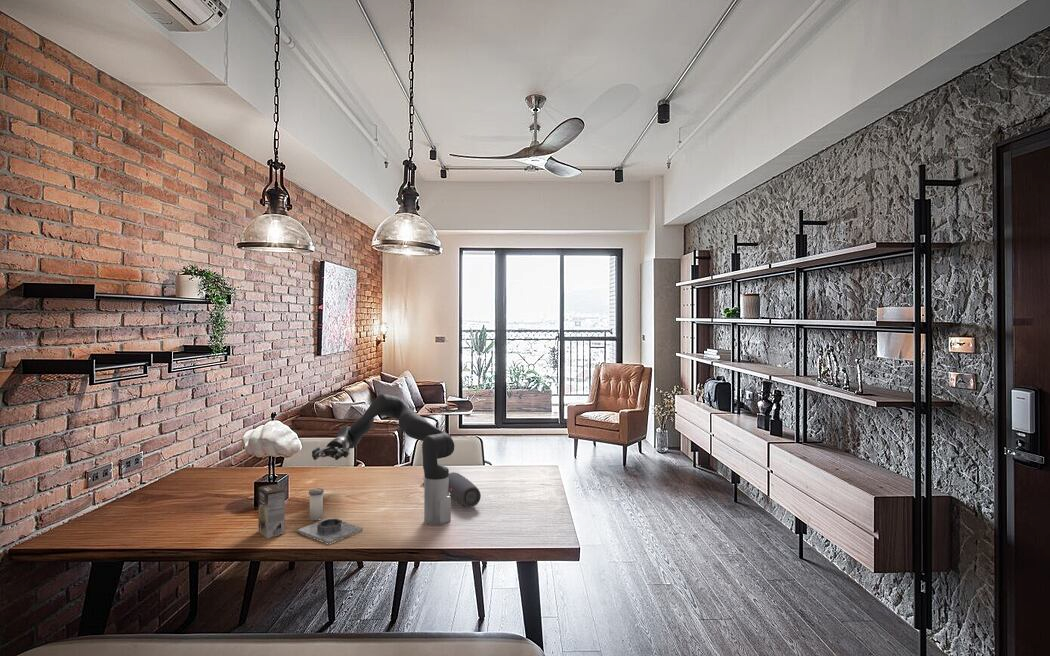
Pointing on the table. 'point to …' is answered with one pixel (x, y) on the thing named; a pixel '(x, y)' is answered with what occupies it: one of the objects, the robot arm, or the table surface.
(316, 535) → the hub plate
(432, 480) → the robot arm
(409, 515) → the table surface
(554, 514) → the table surface
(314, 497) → the grey capped jar
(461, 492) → the bluetooth speaker
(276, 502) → the coffee box
